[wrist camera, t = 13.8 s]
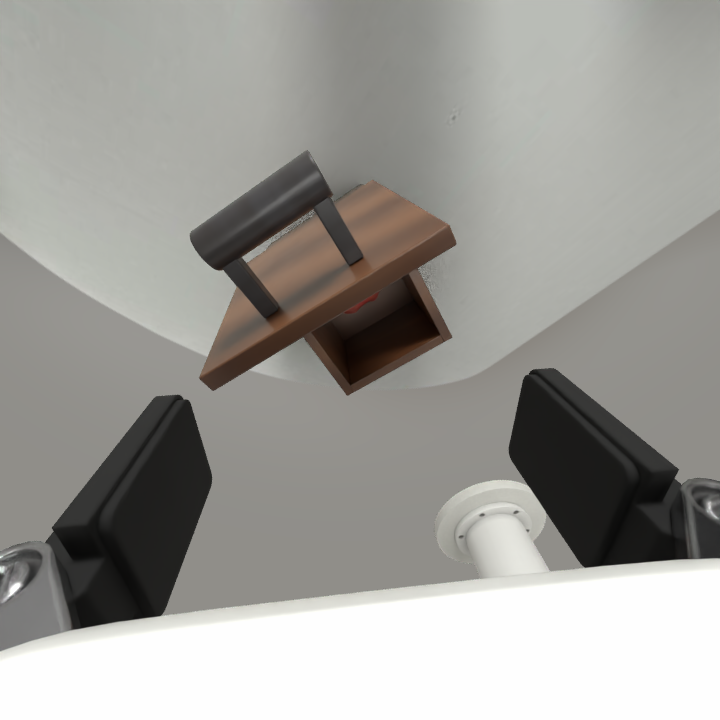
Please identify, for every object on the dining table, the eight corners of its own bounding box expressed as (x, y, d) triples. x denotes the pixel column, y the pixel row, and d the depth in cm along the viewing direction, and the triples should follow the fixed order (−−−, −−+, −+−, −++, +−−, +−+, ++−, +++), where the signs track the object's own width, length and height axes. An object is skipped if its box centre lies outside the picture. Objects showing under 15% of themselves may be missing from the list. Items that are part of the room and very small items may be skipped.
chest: (421, 299, 40) (452, 337, 30) (342, 346, 41) (347, 396, 32) (360, 184, 34) (374, 184, 24) (270, 243, 35) (250, 266, 26)
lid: (457, 244, 12) (396, 90, 9) (212, 392, 14) (105, 295, 11) (378, 190, 24) (341, 116, 21) (253, 272, 26) (205, 212, 23)
